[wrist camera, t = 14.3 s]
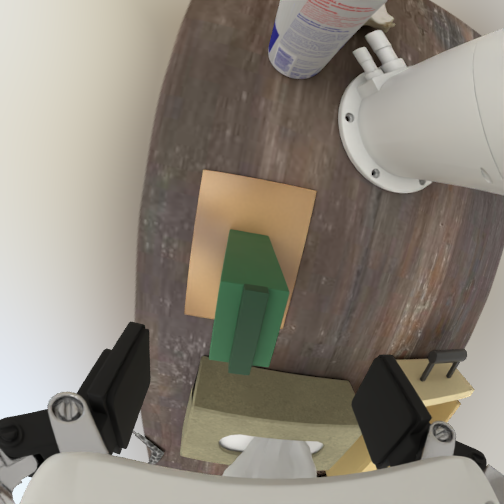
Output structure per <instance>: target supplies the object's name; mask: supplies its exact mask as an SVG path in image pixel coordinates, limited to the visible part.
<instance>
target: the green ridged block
mask: <svg viewBox="0 0 504 504" xmlns="http://www.w3.org/2000/svg"><path fill="white" fill-rule="evenodd" d="M289 293H290V292H289V289H288V286H287V283H286V281H285V278H284V275H283V273H282V270H281V267H280V265H279V262H278V259H277V257H276V254H275V251H274V249H273V246H272V244H271V241H270V238H269V236H267V235H261V234H255V233H250V232H244V231H238V230H232V229H230V230H229V235H228V241H227V246H226V251H225V257H224V262H223V268H222V273H221V279H220V285H219V292H218V298H217V305H216V311H215V318H214V325H213V332H212V339H211V346H210V353H209V359H210V360H215V361H221V362H228V363H229V364H228V373H232V374H240V375H248V376H249V375H250V371H251V367H252V366H261V367H269V365H270V362H271V358H272V355H273V351H274V348H275V344H276V341H277V337H278V334H279V330H280V327H281V323H282V320H283V316H284V312H285V308H286V305H287V301H288V297H289Z"/></svg>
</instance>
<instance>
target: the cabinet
mask: <svg viewBox="0 0 504 504" xmlns="http://www.w3.org/2000/svg"><path fill="white" fill-rule="evenodd" d="M389 467H390V466H389ZM373 470H377V468H376V465H375V464H373V463H372V461H371V458H370V455H369V452H368V450H367V447H366V444H365V441H364V439H363V436H362V435H361V436H360V437H359V438H358V439H357V440H356V442H355V443H354V444H353V445H352V446H351V447H350V448H349V449H348V450H347V452H346V453H345V454H344V455H343V456H342V457H341V458H340V459H339V460H338V461H337V462H336V463H335V464H334V465H333V466H332V467H331V468H330V469H329V470H325V471H326V475H327V477H328V476H338V475H347V474H354V473H361V472H367V471H373Z"/></svg>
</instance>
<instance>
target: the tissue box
mask: <svg viewBox="0 0 504 504" xmlns="http://www.w3.org/2000/svg"><path fill="white" fill-rule="evenodd" d="M228 364H229V363H228V362H221V361H215V360H210V359H209V357H206V356H202V357H201V361H200V365H199V369H198V373H197V376H196V380H195V384H194V388H193V392H192V389H191V393H190V398H189V402H188V406H187V411H186V415H185V419H184V424H183V431H182V440H181V449H180V455H181V456H184V457H188V458H193V459H197V460H202V461H208V462H213V463H219V464H226V465H230V466H229V467H228V468H227V469H226V470H225V471H224V473H223V475H222V476H229V477H241V478H262V479H296V478H316V477H317V474H316V471H318V470H329V469H330V468H331V467H332V466H333V465H334V464H335V463H336V462H337V461H338V460H339V459H340V458H341V457H342V456H343V455H344V454H345V453H346V452H347V450H348V449H349V448H350V447H351V446H352V445H353V444H354V443H355V442H356V440H357V439H358V438H359V437H360V436H361V435H362V433H361V430H360V428H359V425H358V422H357V420H356V417H355V414H354V412H353V409H352V405H351V404H352V400H353V398H354V396H355V394H354V392H353V389H352V387H351V385H350V383H349V381H346V380H336V379H327V378H319V377H311V376H304V375H297V374H290V373H284V372H278V371H272V370H267V369H261V368H256V367H251V371H250V375H249V376H248V375H240V374H232V373H228Z"/></svg>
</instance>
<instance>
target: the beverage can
mask: <svg viewBox="0 0 504 504" xmlns="http://www.w3.org/2000/svg"><path fill="white" fill-rule="evenodd" d="M386 1H387V0H280V4H279V7H278V11H277V15H276V19H275V23H274V27H273V31H272V35H271V40H270V44H269V48H268V55H269V59H270V62H271V63H272V65H273V66H274V68H275V69H276V70H277V71H279V72H280V73H282V74H283V75H285V76H287V77H290V78H295V79H306V78H310V77H313V76H314V75H316V74H317V73H319V72H320V71H321V70H322V69H323V68H324V67H325V65H326V64H327V63H328V62H329V61H330V60H331V59H332V58H333V56H334V55H335V54H336V53H337V52H338V51H339V50H340V49H341V48H342V47H343V46H344V44H345V43H346V42H347V41H348V40H349V39H350V38H351V37H352V36H353V35H354V34H355V33H356V32H357V31H358V30H359V29H360V28H361V26H362V25H363V24H364V23H365V22H366V21H367V20H368V19H369V18H370V17H371V16H372V15H373V14H374V13H375V12H376V11H377V10H378V9H379V8H380V7H381V6H382V5H383V4H384V3H385V2H386Z"/></svg>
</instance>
